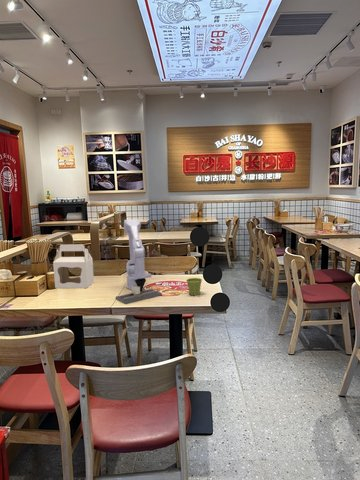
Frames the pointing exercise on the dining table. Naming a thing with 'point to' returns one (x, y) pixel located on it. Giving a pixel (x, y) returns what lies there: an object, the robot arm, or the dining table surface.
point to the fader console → (138, 296)
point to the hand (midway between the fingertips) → (140, 291)
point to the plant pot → (194, 285)
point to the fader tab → (135, 290)
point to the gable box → (82, 262)
